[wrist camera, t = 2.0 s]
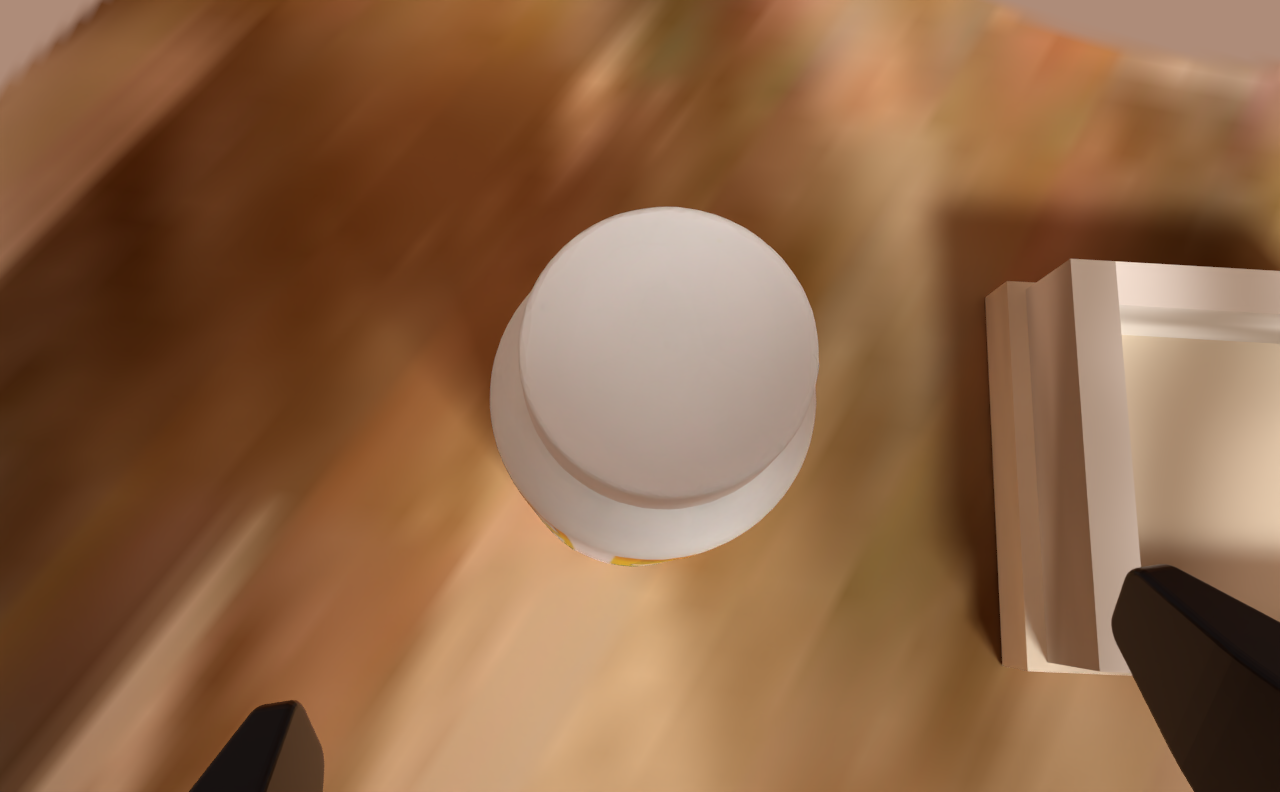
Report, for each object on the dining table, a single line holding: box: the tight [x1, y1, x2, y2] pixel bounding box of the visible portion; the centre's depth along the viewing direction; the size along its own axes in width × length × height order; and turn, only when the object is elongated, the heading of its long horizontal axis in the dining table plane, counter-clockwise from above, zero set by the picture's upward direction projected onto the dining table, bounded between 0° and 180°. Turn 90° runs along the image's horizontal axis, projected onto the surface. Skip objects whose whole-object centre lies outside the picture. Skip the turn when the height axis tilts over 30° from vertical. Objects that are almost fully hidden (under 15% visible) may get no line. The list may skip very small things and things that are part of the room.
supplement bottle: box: [490, 207, 819, 566], centre depth 16 cm, size 5×5×10 cm
